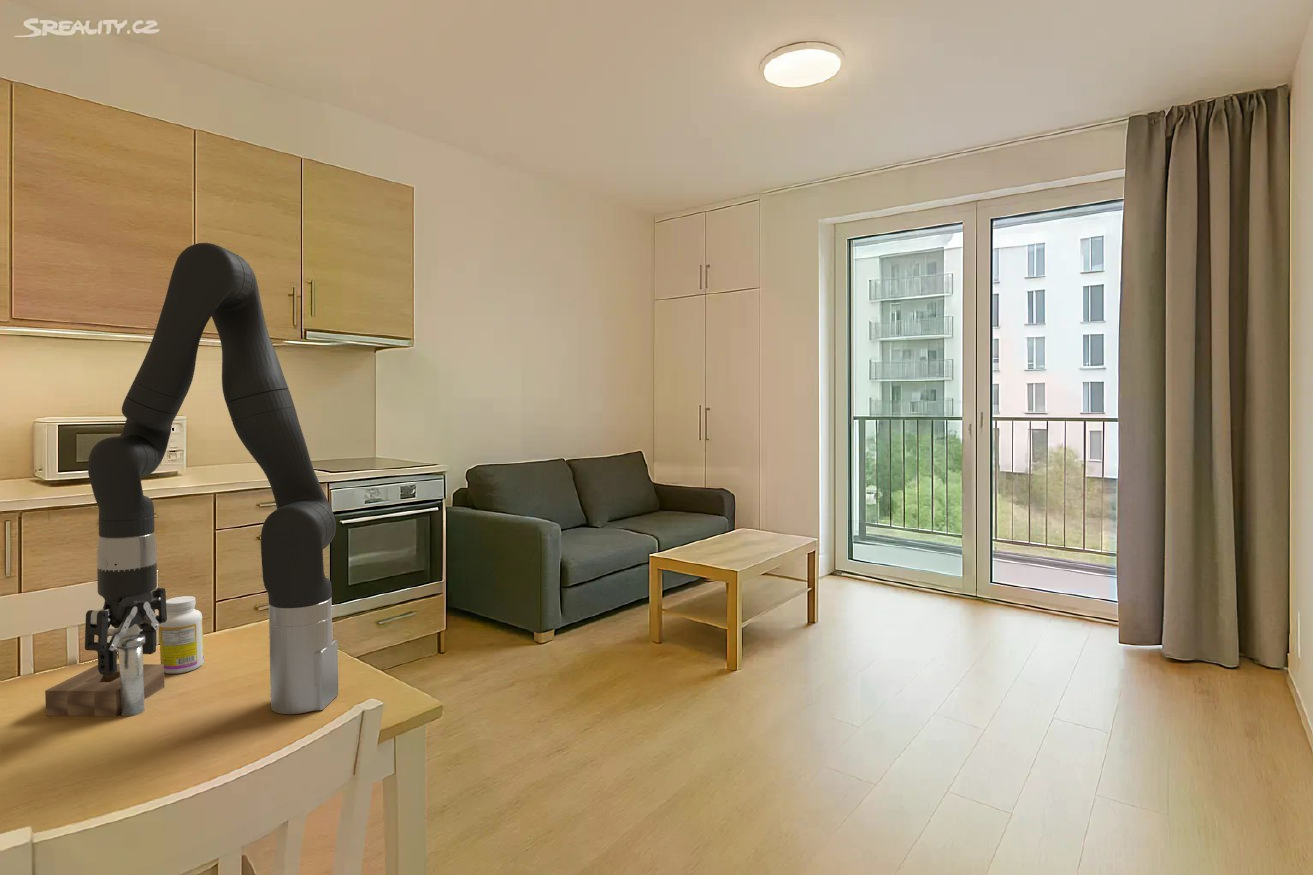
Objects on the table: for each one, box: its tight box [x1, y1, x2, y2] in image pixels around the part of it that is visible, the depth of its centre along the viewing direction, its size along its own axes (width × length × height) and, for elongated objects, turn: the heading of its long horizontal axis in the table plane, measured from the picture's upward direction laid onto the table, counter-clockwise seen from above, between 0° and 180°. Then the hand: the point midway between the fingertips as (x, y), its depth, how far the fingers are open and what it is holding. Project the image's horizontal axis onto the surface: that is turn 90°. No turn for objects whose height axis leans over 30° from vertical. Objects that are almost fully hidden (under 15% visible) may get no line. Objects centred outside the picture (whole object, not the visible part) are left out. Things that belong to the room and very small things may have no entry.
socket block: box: [44, 663, 165, 717], centre depth 117 cm, size 11×11×4 cm
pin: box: [115, 634, 146, 717], centre depth 113 cm, size 4×4×12 cm
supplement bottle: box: [158, 595, 205, 675], centre depth 131 cm, size 7×7×13 cm
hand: (128, 663), depth 113 cm, fingers open, 8 cm apart
